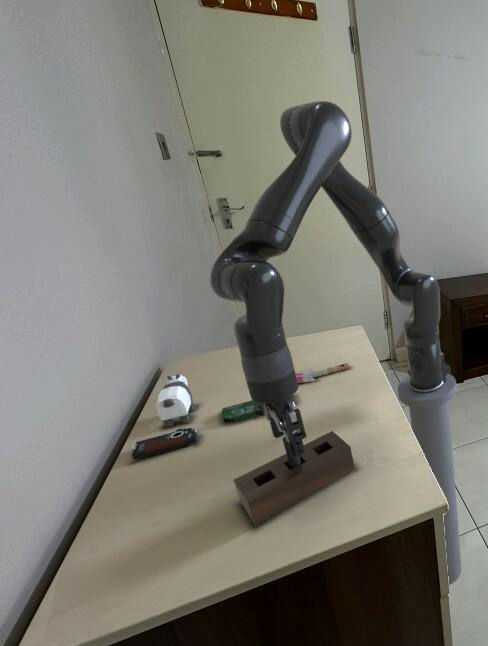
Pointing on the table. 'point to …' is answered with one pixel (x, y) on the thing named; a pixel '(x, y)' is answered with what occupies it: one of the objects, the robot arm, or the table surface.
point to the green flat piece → (243, 411)
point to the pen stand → (293, 478)
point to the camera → (164, 443)
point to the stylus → (292, 461)
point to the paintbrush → (318, 373)
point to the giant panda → (175, 401)
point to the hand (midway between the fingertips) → (289, 444)
